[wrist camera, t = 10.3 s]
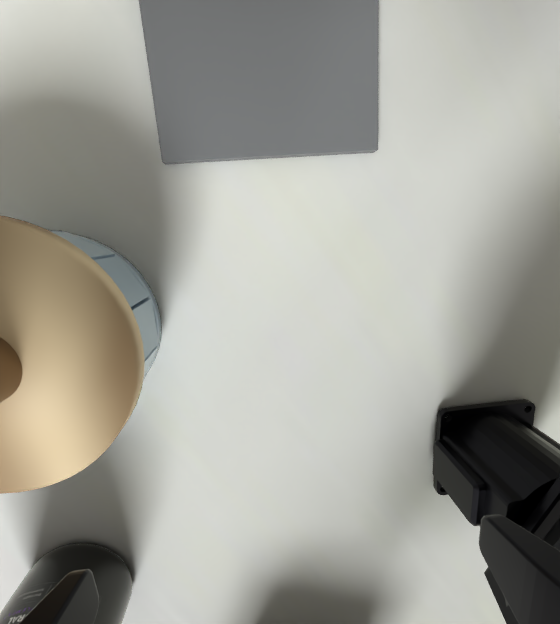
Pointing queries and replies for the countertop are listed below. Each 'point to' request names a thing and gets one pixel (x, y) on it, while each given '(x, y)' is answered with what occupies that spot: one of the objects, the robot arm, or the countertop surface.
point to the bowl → (126, 291)
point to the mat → (262, 77)
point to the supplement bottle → (63, 560)
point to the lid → (60, 358)
